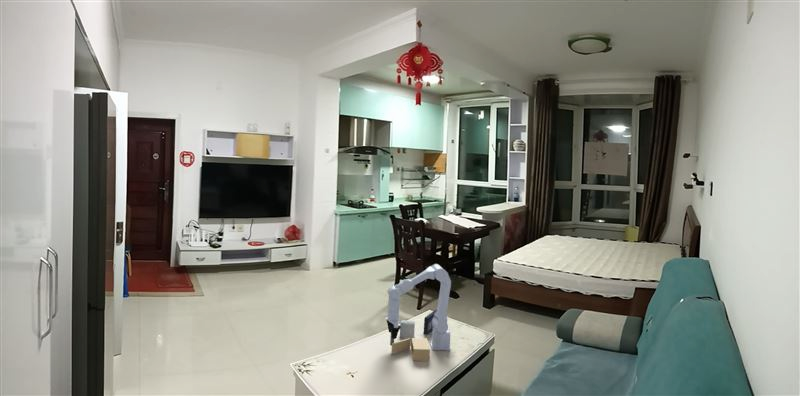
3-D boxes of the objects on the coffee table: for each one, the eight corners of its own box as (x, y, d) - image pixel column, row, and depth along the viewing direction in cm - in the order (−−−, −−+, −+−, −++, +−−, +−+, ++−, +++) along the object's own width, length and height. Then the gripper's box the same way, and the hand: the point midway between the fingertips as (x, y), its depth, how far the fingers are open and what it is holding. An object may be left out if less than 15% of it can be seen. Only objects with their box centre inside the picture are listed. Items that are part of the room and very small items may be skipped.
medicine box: (414, 335, 224) (415, 321, 223) (413, 339, 219) (414, 324, 218) (400, 334, 225) (401, 319, 224) (399, 338, 220) (400, 323, 219)
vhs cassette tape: (427, 335, 226) (428, 318, 224) (422, 333, 227) (423, 316, 226) (441, 324, 241) (442, 308, 240) (437, 323, 242) (438, 307, 241)
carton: (426, 349, 209) (426, 338, 208) (429, 360, 197) (429, 349, 196) (411, 348, 208) (411, 338, 208) (413, 360, 196) (413, 349, 196)
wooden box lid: (410, 348, 208) (410, 330, 207) (392, 354, 201) (392, 336, 200) (403, 344, 212) (404, 327, 211) (386, 350, 205) (387, 332, 204)
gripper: (383, 305, 210) (382, 329, 212) (388, 316, 196) (387, 342, 198) (396, 304, 212) (395, 328, 214) (402, 315, 198) (401, 341, 200)
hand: (392, 335), depth 206 cm, fingers open, 7 cm apart
